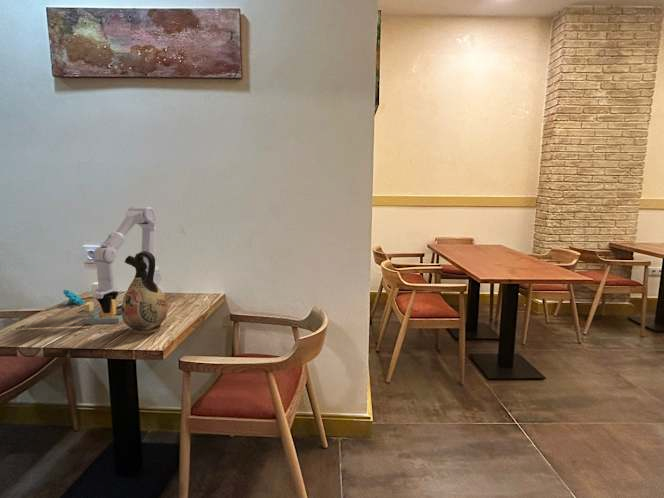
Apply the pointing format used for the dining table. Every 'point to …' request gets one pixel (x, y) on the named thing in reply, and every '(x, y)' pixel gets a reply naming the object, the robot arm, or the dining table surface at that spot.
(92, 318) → the parts tray
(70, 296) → the gear
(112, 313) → the block
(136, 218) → the robot arm
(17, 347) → the dining table surface
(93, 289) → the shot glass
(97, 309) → the panel
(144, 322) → the ceramic jug
